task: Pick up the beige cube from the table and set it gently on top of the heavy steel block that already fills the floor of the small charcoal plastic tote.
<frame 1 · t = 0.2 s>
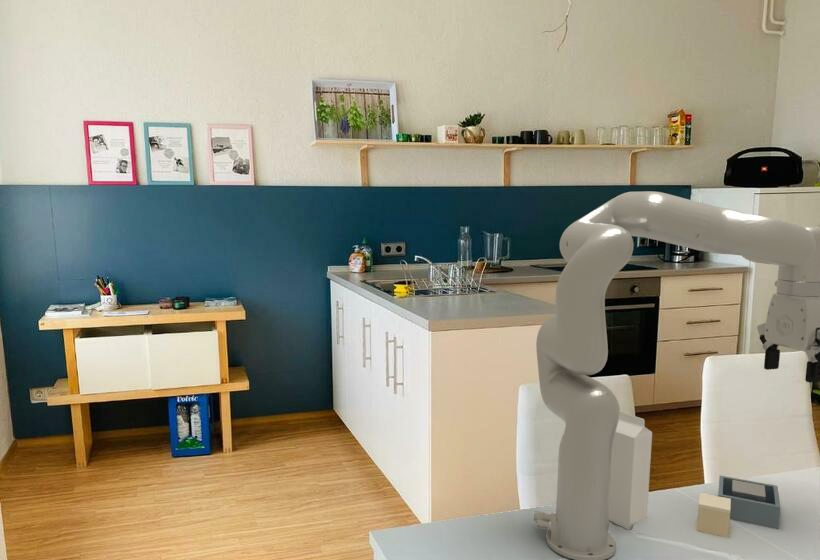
hand: (791, 375, 129), 31 cm above the table, tool pointing down, fingers open, 9 cm apart
beige cube: (712, 532, 128), on the table
milk: (625, 521, 132), on the table
tote: (746, 515, 135), on the table
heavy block: (746, 511, 135), point 1 cm above the table, touching tote
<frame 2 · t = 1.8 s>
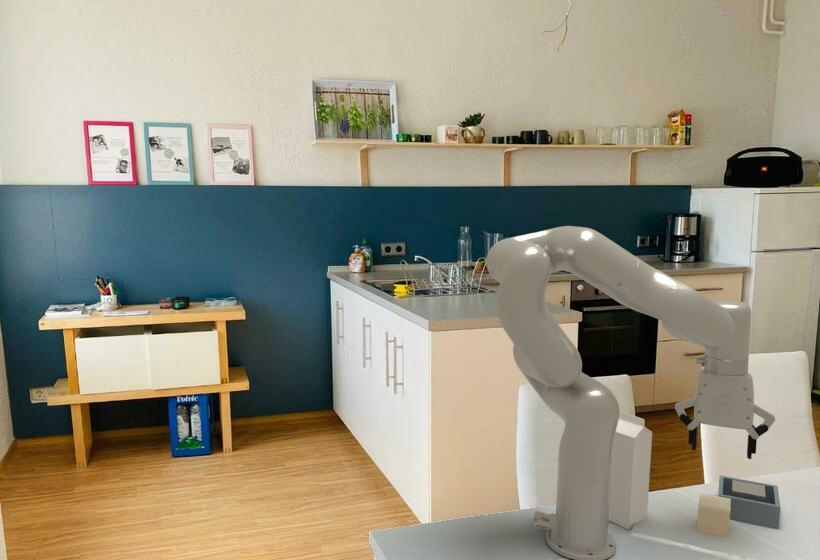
hand: (721, 452, 126), 16 cm above the table, tool pointing down, fingers open, 9 cm apart
nothing on the table moved.
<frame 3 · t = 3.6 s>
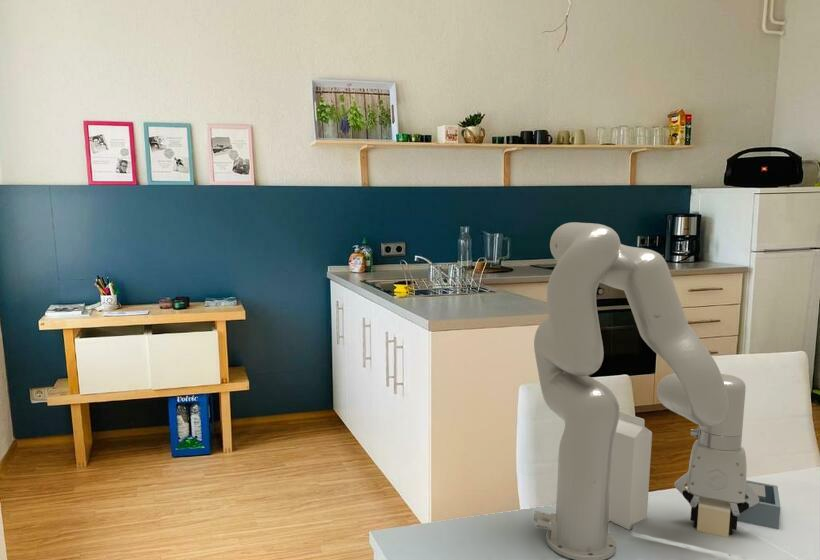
hand: (713, 527, 128), 1 cm above the table, tool pointing down, fingers closed on beige cube, 5 cm apart
beige cube: (712, 532, 128), on the table, touching gripper
everything else where it was.
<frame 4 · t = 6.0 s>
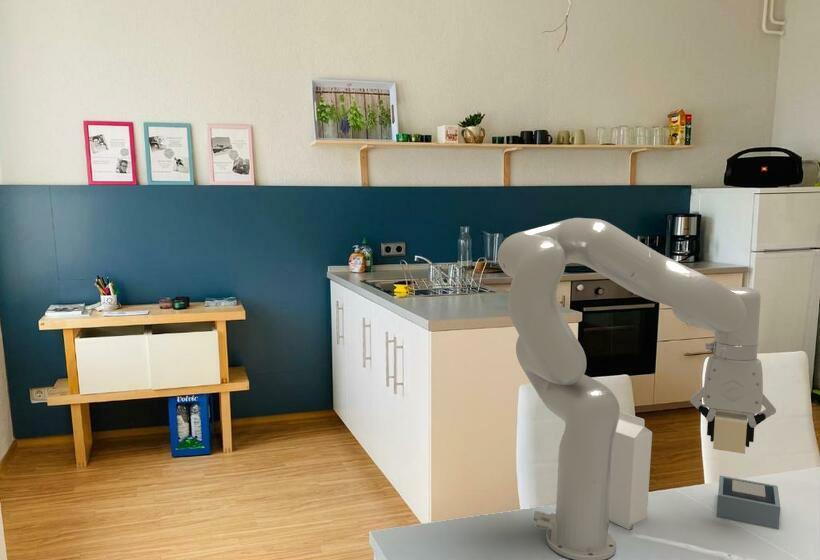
hand: (729, 441, 128), 18 cm above the table, tool pointing down, fingers closed on beige cube, 5 cm apart
beige cube: (729, 446, 128), point 17 cm above the table, touching gripper
everything else where it was.
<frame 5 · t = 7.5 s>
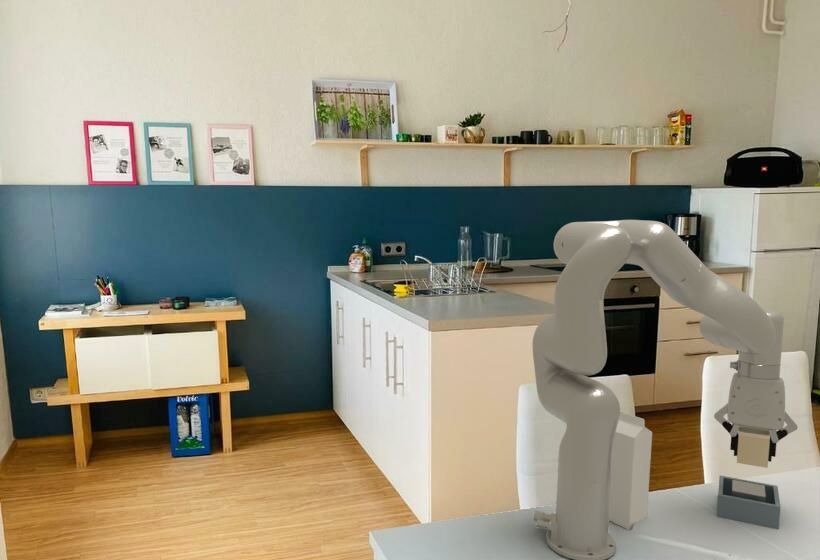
hand: (752, 455, 134), 13 cm above the table, tool pointing down, fingers closed on beige cube, 5 cm apart
beige cube: (751, 460, 134), point 12 cm above the table, touching gripper
everything else where it was.
when the fingers open (8 cm above the table, at t = 8.7 s): beige cube drops 1 cm, resting on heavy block.
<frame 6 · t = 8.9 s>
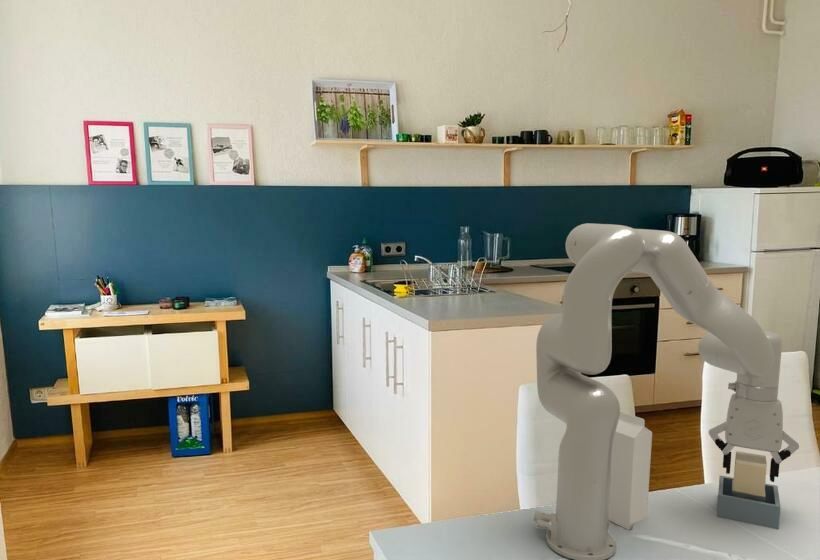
hand: (749, 474, 134), 9 cm above the table, tool pointing down, fingers open, 7 cm apart
beige cube: (748, 488, 134), point 6 cm above the table, touching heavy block
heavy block: (746, 511, 135), point 1 cm above the table, touching beige cube, tote
everything else where it was.
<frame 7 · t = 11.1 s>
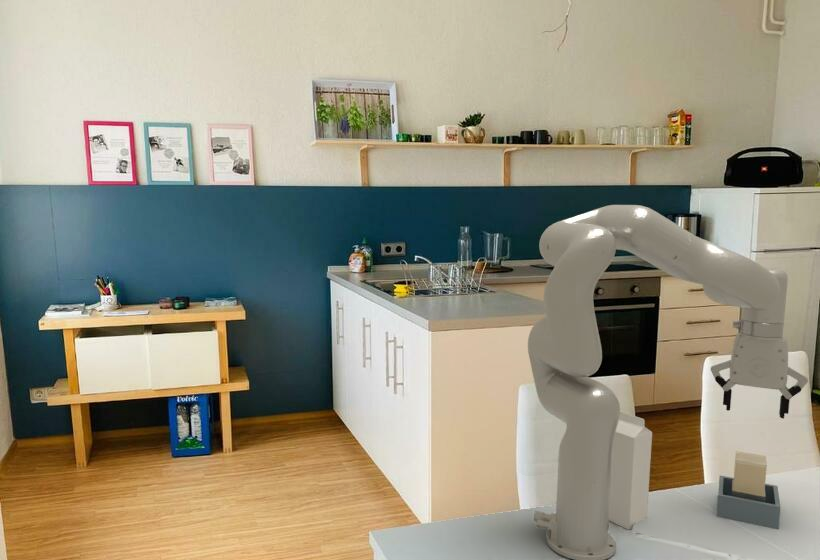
hand: (754, 412, 132), 22 cm above the table, tool pointing down, fingers open, 9 cm apart
nothing on the table moved.
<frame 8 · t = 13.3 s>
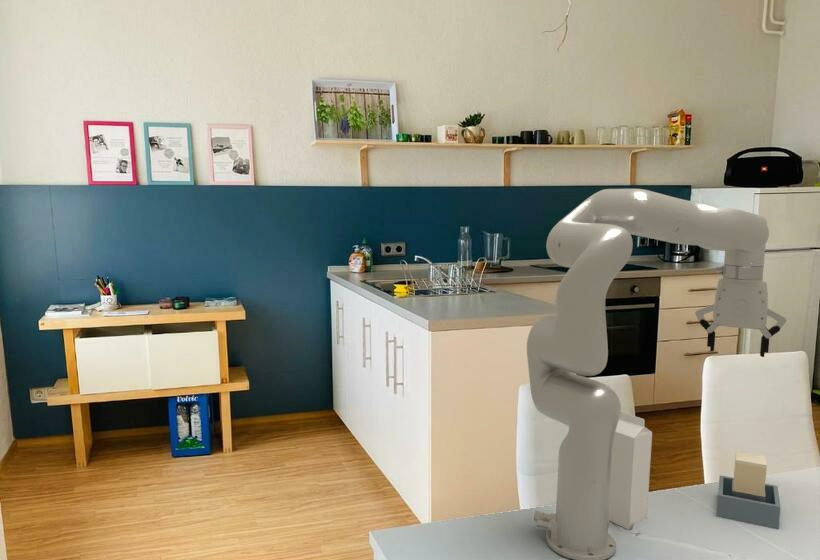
hand: (736, 352, 140), 32 cm above the table, tool pointing down, fingers open, 9 cm apart
nothing on the table moved.
at the end: beige cube 0.0 cm off-centre on the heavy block, point 5.0 cm above the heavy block's base; beige cube tilted 0°; beige cube touching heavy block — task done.
